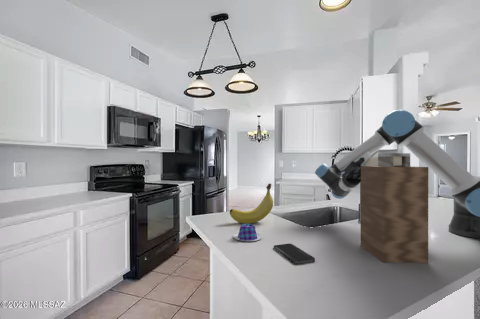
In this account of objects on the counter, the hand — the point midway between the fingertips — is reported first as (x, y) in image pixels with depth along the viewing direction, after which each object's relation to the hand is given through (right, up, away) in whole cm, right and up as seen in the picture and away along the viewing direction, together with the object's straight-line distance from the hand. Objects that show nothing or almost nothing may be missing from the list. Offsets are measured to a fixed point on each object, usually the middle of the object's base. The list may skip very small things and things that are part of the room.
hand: (374, 154), depth 90 cm
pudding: (-49, -35, +6) cm, 60 cm away
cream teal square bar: (0, -4, -2) cm, 5 cm away
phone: (-34, -35, -11) cm, 50 cm away
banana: (-46, -34, +29) cm, 64 cm away
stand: (0, -34, -10) cm, 36 cm away
